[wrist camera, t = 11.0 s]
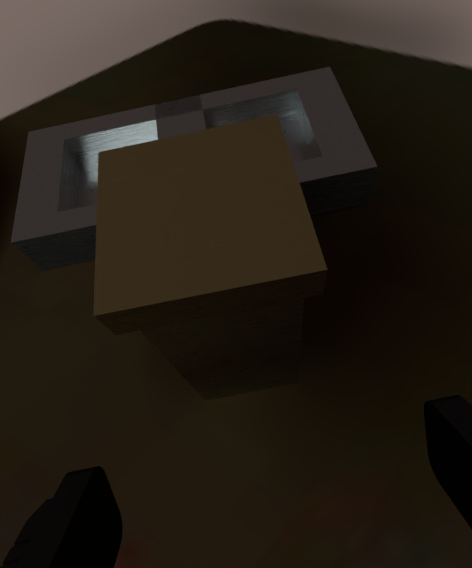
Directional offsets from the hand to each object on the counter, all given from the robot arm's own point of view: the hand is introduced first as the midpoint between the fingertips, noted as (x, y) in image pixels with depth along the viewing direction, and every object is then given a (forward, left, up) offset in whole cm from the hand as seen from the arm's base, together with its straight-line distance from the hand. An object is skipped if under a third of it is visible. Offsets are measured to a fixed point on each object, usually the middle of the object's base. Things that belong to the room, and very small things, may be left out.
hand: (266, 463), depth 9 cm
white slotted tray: (-10, +14, -8) cm, 20 cm away
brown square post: (-3, +5, -8) cm, 10 cm away
